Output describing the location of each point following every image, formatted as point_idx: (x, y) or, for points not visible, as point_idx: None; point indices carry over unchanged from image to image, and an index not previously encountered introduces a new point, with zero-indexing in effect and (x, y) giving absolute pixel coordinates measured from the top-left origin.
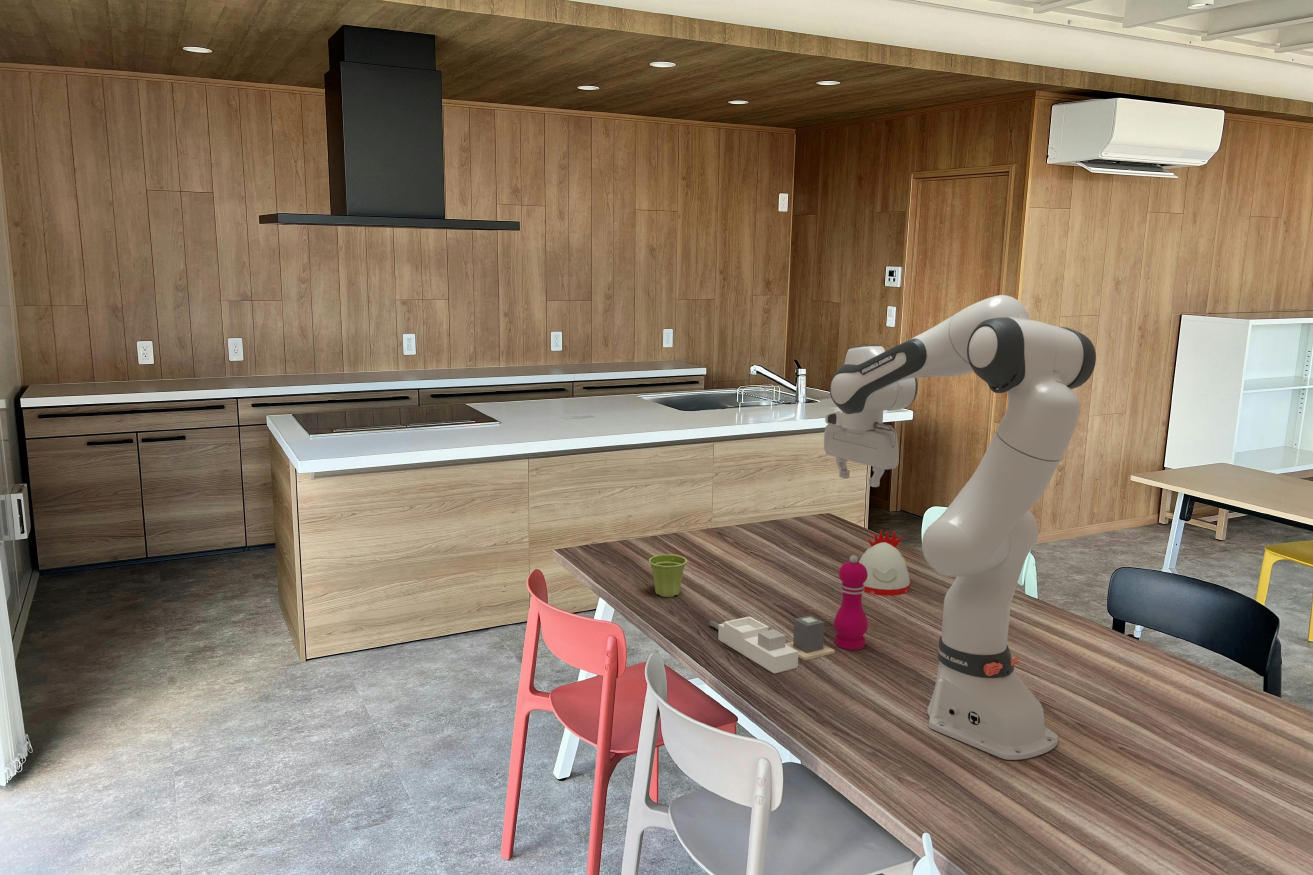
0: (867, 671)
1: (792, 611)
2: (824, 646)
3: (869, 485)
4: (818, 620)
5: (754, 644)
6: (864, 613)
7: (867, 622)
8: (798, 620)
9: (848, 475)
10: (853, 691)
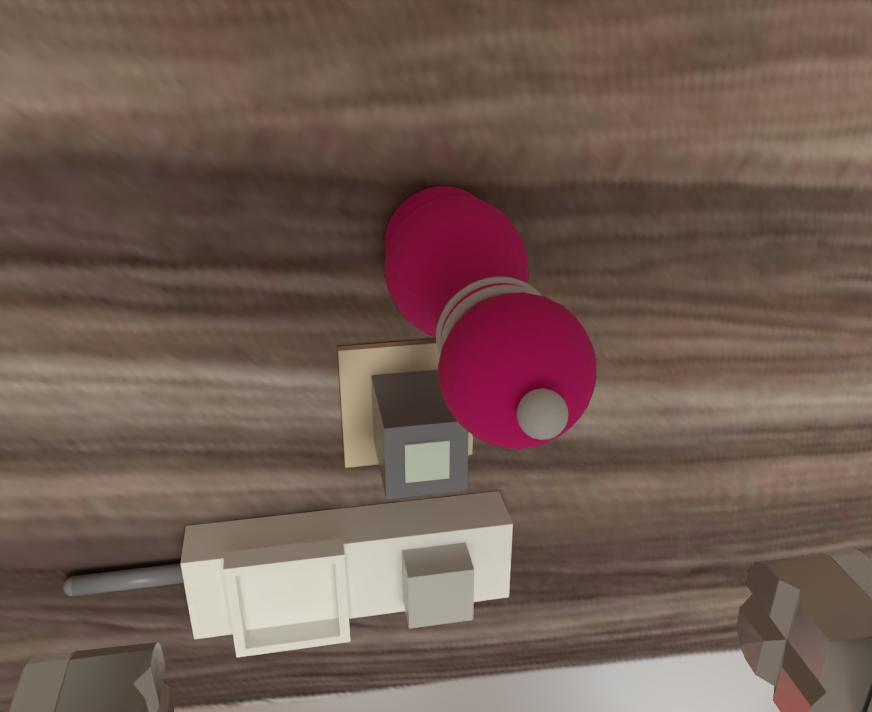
0: (635, 327)
1: (14, 236)
2: (430, 352)
3: (745, 637)
4: (443, 429)
5: (400, 608)
6: (510, 248)
7: (511, 225)
8: (406, 492)
9: (158, 686)
10: (698, 438)
